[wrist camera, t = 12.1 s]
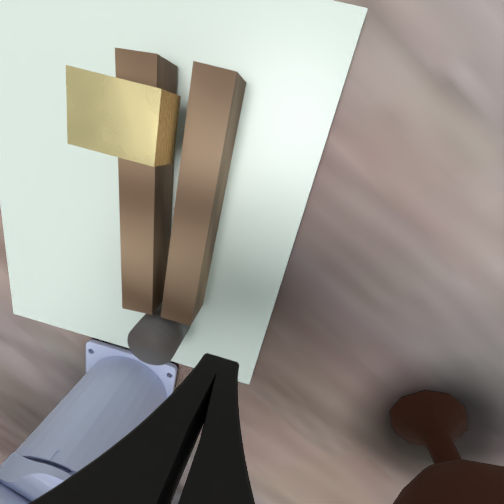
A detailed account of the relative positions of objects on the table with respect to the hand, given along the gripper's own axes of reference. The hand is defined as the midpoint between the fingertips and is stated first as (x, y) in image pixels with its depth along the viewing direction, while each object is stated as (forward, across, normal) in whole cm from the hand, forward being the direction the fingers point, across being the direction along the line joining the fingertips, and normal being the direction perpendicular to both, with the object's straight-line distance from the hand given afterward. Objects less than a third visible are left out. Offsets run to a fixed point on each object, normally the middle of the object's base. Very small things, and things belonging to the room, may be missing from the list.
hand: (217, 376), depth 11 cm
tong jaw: (+8, +7, -4) cm, 11 cm away
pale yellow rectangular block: (+6, +7, -8) cm, 12 cm away
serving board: (+9, +8, -3) cm, 13 cm away
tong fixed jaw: (+8, +5, -2) cm, 10 cm away
